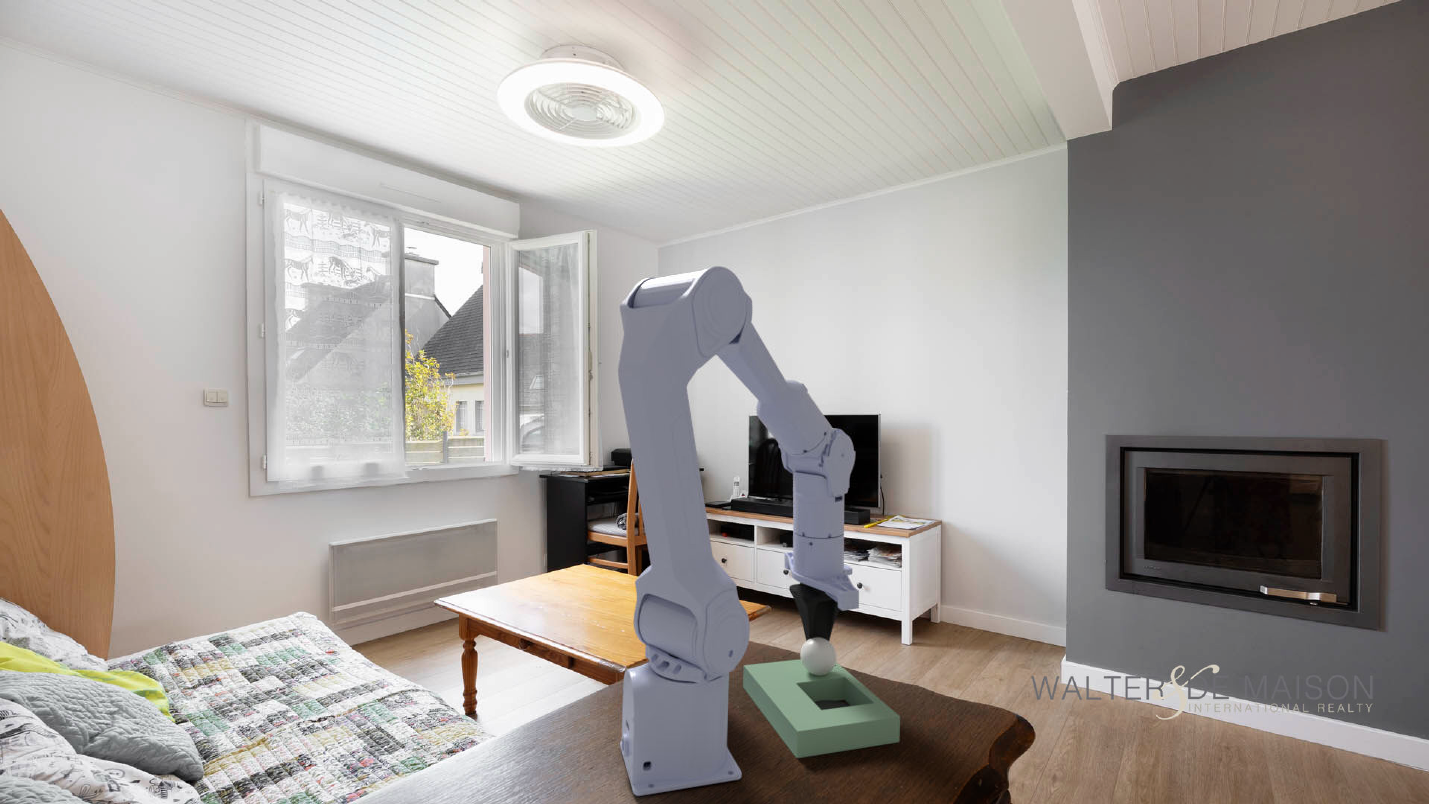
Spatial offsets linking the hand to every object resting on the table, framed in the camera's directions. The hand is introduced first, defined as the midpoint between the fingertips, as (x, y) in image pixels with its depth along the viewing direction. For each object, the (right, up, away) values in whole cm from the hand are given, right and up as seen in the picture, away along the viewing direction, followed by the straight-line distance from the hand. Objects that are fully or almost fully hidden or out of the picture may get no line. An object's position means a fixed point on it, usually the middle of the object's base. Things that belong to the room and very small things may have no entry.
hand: (818, 648), depth 71 cm
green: (-1, -5, -5) cm, 7 cm away
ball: (0, 0, -2) cm, 2 cm away
